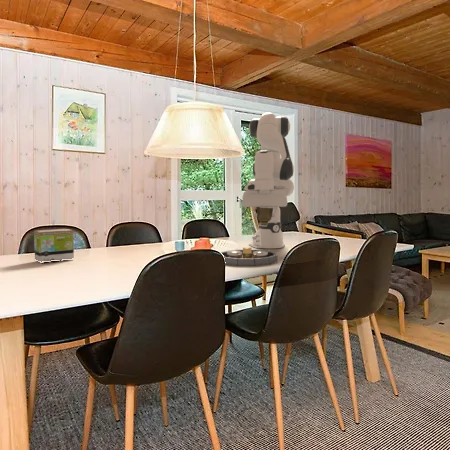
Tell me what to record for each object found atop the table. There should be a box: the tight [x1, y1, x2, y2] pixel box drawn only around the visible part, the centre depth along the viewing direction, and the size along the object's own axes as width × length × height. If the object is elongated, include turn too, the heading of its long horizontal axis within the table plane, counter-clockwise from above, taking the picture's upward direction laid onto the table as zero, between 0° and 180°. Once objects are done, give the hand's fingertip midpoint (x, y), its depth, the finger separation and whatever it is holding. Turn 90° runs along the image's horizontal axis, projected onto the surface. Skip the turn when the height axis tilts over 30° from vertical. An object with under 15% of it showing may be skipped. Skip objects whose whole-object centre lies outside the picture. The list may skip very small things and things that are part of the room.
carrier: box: [221, 246, 278, 267], centre depth 181 cm, size 27×27×6 cm
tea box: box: [33, 228, 75, 262], centre depth 186 cm, size 15×10×15 cm
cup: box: [256, 207, 273, 225], centre depth 177 cm, size 8×7×8 cm
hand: (264, 217), depth 177 cm, fingers closed on cup, 6 cm apart
